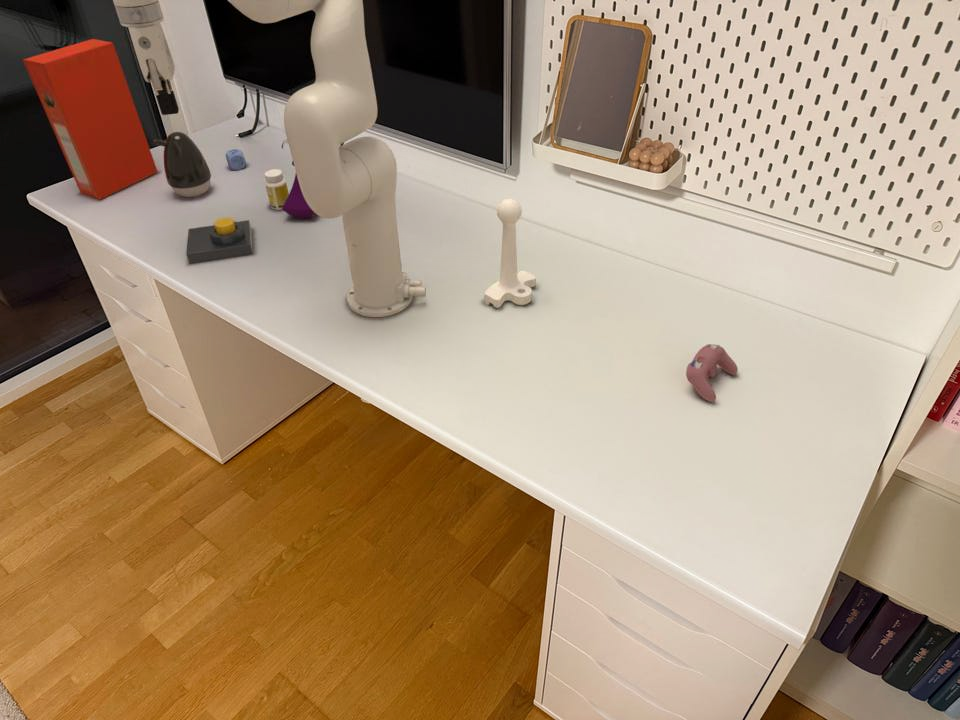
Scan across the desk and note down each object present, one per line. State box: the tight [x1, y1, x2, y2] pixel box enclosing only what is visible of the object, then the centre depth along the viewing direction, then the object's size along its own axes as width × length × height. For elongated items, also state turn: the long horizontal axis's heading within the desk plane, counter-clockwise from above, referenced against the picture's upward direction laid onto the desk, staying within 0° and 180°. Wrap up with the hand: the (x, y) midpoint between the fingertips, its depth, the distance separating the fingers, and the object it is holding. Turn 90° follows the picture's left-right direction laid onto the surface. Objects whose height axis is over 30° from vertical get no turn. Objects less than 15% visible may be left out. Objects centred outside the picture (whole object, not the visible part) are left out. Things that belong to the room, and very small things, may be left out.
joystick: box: [484, 198, 537, 309], centre depth 128 cm, size 11×8×20 cm
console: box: [185, 219, 254, 265], centre depth 150 cm, size 13×11×4 cm
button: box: [213, 217, 236, 235], centre depth 147 cm, size 4×4×2 cm
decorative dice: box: [225, 148, 247, 171], centre depth 181 cm, size 4×4×4 cm
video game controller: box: [685, 343, 739, 403], centre depth 113 cm, size 10×5×7 cm, turn 141°
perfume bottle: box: [280, 138, 316, 220], centre depth 156 cm, size 8×8×18 cm
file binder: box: [22, 38, 159, 201], centre depth 166 cm, size 8×17×32 cm, turn 149°
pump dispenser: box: [152, 131, 212, 198], centre depth 166 cm, size 10×10×15 cm
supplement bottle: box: [264, 168, 290, 211], centre depth 162 cm, size 5×5×8 cm
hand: (170, 112), depth 138 cm, fingers closed
